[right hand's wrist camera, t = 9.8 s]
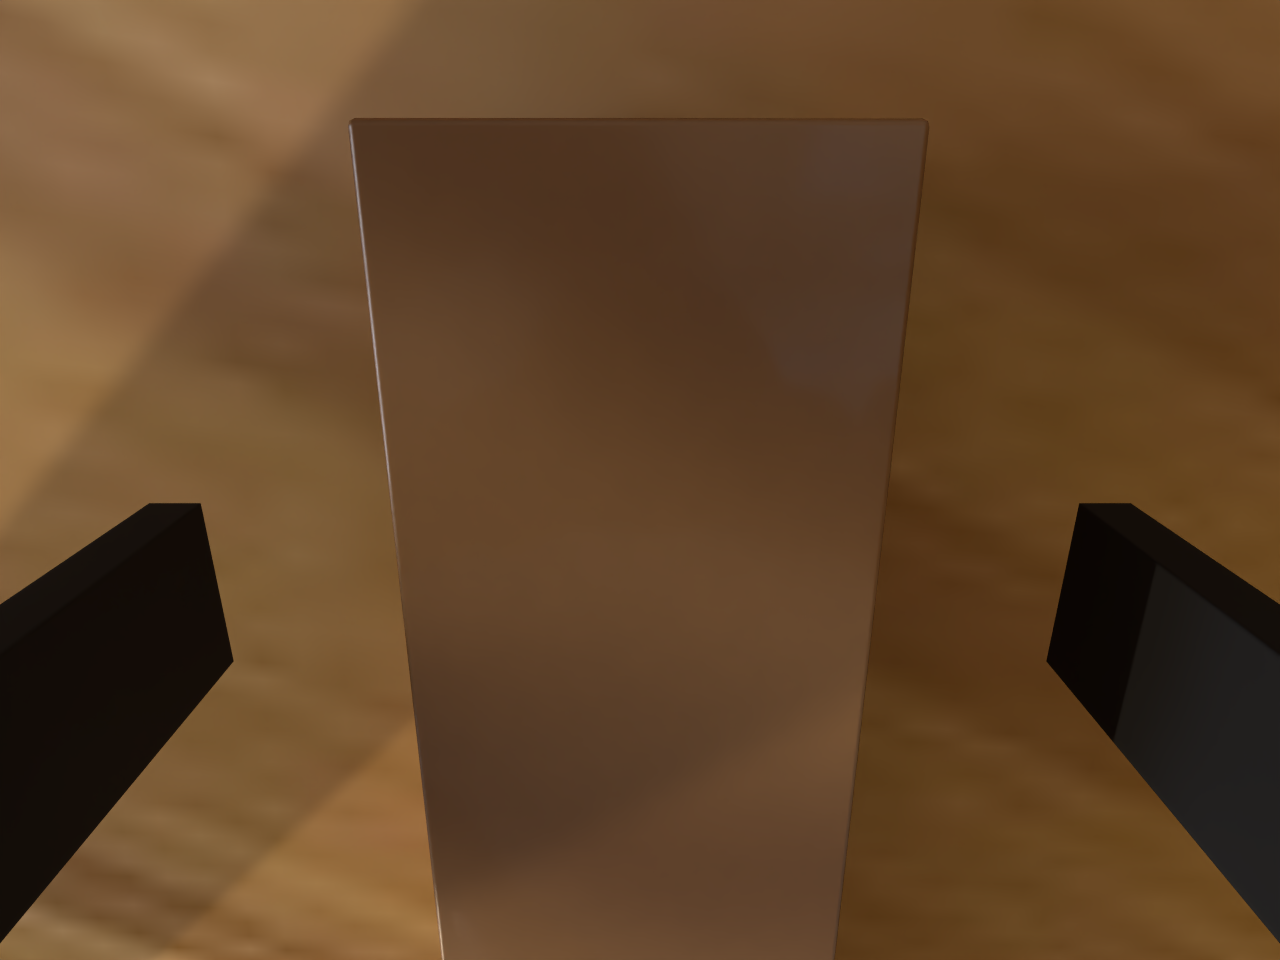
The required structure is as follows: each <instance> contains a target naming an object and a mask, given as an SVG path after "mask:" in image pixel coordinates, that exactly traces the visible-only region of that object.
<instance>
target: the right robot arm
mask: <svg viewBox="0 0 1280 960" xmlns="http://www.w3.org/2000/svg"><path fill="white" fill-rule="evenodd" d="M232 663H233V656H232V651H231V647H230V642H229V637H228V632H227V627H226V623H225V618H224V613H223V608H222V603H221V599H220V594H219V589H218V584H217V579H216V575H215V570H214V565H213V560H212V555H211V551H210V546H209V541H208V536H207V531H206V527H205V522H204V517H203V512H202V507H201V503H149V504H148V505H146V506H145V507H143V508H142V509H140V510H139V511H137V512H136V513H134V514H133V515H131V516H130V517H129V518H127V519H126V520H124V521H123V522H121V523H120V524H118V525H117V526H115V527H114V528H112V529H111V530H109V531H108V532H106V533H105V534H103V535H102V536H101V537H99V538H98V539H96V540H95V541H93V542H92V543H90V544H89V545H87V546H86V547H84V548H83V549H81V550H80V551H78V552H77V553H75V554H74V555H73V556H71V557H70V558H68V559H67V560H65V561H64V562H62V563H61V564H59V565H58V566H56V567H55V568H53V569H52V570H50V571H49V572H47V573H46V574H45V575H43V576H42V577H40V578H39V579H37V580H36V581H34V582H33V583H31V584H30V585H28V586H27V587H25V588H24V589H22V590H21V591H20V592H18V593H17V594H15V595H14V596H12V597H11V598H9V599H8V600H6V601H5V602H3V603H2V604H0V943H1V942H2V940H3V939H4V938H5V937H6V936H7V934H8V933H9V932H10V931H11V929H12V928H13V927H14V926H15V925H16V923H17V922H18V921H19V920H20V919H21V917H22V916H23V915H24V914H25V913H26V911H27V910H28V909H29V908H30V907H31V905H32V904H33V903H34V902H35V900H36V899H37V898H38V897H39V896H40V894H41V893H42V892H43V891H44V890H45V888H46V887H47V886H48V885H49V884H50V882H51V881H52V880H53V879H54V878H55V876H56V875H57V874H58V873H59V871H60V870H61V869H62V868H63V867H64V865H65V864H66V863H67V862H68V861H69V859H70V858H71V857H72V856H73V855H74V853H75V852H76V851H77V850H78V849H79V847H80V846H81V845H82V844H83V843H84V841H85V840H86V839H87V838H88V836H89V835H90V834H91V833H92V832H93V830H94V829H95V828H96V827H97V826H98V824H99V823H100V822H101V821H102V820H103V818H104V817H105V816H106V815H107V814H108V812H109V811H110V810H111V809H112V807H113V806H114V805H115V804H116V803H117V801H118V800H119V799H120V798H121V797H122V795H123V794H124V793H125V792H126V791H127V789H128V788H129V787H130V786H131V785H132V783H133V782H134V781H135V780H136V778H137V777H138V776H139V775H140V774H141V772H142V771H143V770H144V769H145V768H146V766H147V765H148V764H149V763H150V762H151V760H152V759H153V758H154V757H155V756H156V754H157V753H158V752H159V751H160V749H161V748H162V747H163V746H164V745H165V743H166V742H167V741H168V740H169V739H170V737H171V736H172V735H173V734H174V733H175V731H176V730H177V729H178V728H179V727H180V725H181V724H182V723H183V722H184V721H185V719H186V718H187V717H188V716H189V714H190V713H191V712H192V711H193V710H194V708H195V707H196V706H197V705H198V704H199V702H200V701H201V700H202V699H203V698H204V696H205V695H206V694H207V693H208V692H209V690H210V689H211V688H212V687H213V685H214V684H215V683H216V682H217V681H218V679H219V678H220V677H221V676H222V675H223V673H224V672H225V671H226V670H227V669H228V667H229V666H230V665H231V664H232ZM1047 663H1048V664H1049V665H1050V666H1051V667H1052V669H1053V670H1054V671H1055V672H1056V673H1057V675H1058V676H1059V677H1060V678H1061V679H1062V681H1063V682H1064V683H1065V684H1066V685H1067V687H1068V688H1069V689H1070V690H1071V692H1072V693H1073V694H1074V695H1075V696H1076V698H1077V699H1078V700H1079V701H1080V702H1081V704H1082V705H1083V706H1084V707H1085V708H1086V710H1087V711H1088V712H1089V713H1090V714H1091V716H1092V717H1093V718H1094V719H1095V721H1096V722H1097V723H1098V724H1099V725H1100V727H1101V728H1102V729H1103V730H1104V731H1105V733H1106V734H1107V735H1108V736H1109V737H1110V739H1111V740H1112V741H1113V742H1114V743H1115V745H1116V746H1117V747H1118V748H1119V750H1120V751H1121V752H1122V753H1123V754H1124V756H1125V757H1126V758H1127V759H1128V760H1129V762H1130V763H1131V764H1132V765H1133V766H1134V768H1135V769H1136V770H1137V771H1138V772H1139V774H1140V775H1141V776H1142V777H1143V778H1144V780H1145V781H1146V782H1147V783H1148V785H1149V786H1150V787H1151V788H1152V789H1153V791H1154V792H1155V793H1156V794H1157V795H1158V797H1159V798H1160V799H1161V800H1162V801H1163V803H1164V804H1165V805H1166V806H1167V807H1168V809H1169V810H1170V811H1171V812H1172V814H1173V815H1174V816H1175V817H1176V818H1177V820H1178V821H1179V822H1180V823H1181V824H1182V826H1183V827H1184V828H1185V829H1186V830H1187V832H1188V833H1189V834H1190V835H1191V836H1192V838H1193V839H1194V840H1195V841H1196V843H1197V844H1198V845H1199V846H1200V847H1201V849H1202V850H1203V851H1204V852H1205V853H1206V855H1207V856H1208V857H1209V858H1210V859H1211V861H1212V862H1213V863H1214V864H1215V865H1216V867H1217V868H1218V869H1219V870H1220V872H1221V873H1222V874H1223V875H1224V876H1225V878H1226V879H1227V880H1228V881H1229V882H1230V884H1231V885H1232V886H1233V887H1234V888H1235V890H1236V891H1237V892H1238V893H1239V894H1240V896H1241V897H1242V898H1243V899H1244V900H1245V902H1246V903H1247V904H1248V905H1249V907H1250V908H1251V909H1252V910H1253V911H1254V913H1255V914H1256V915H1257V916H1258V917H1259V919H1260V920H1261V921H1262V922H1263V923H1264V925H1265V926H1266V927H1267V928H1268V929H1269V931H1270V932H1271V933H1272V934H1273V936H1274V937H1275V938H1276V939H1277V940H1278V942H1279V943H1280V604H1278V603H1277V602H1275V601H1274V600H1272V599H1271V598H1269V597H1268V596H1266V595H1265V594H1263V593H1262V592H1260V591H1259V590H1258V589H1256V588H1255V587H1253V586H1252V585H1250V584H1249V583H1247V582H1246V581H1244V580H1243V579H1241V578H1240V577H1238V576H1237V575H1235V574H1234V573H1233V572H1231V571H1230V570H1228V569H1227V568H1225V567H1224V566H1222V565H1221V564H1219V563H1218V562H1216V561H1215V560H1213V559H1212V558H1210V557H1209V556H1207V555H1206V554H1205V553H1203V552H1202V551H1200V550H1199V549H1197V548H1196V547H1194V546H1193V545H1191V544H1190V543H1188V542H1187V541H1185V540H1184V539H1182V538H1181V537H1179V536H1178V535H1177V534H1175V533H1174V532H1172V531H1171V530H1169V529H1168V528H1166V527H1165V526H1163V525H1162V524H1160V523H1159V522H1157V521H1156V520H1154V519H1153V518H1151V517H1150V516H1149V515H1147V514H1146V513H1144V512H1143V511H1141V510H1140V509H1138V508H1137V507H1135V506H1134V505H1132V504H1131V503H1079V507H1078V512H1077V517H1076V522H1075V527H1074V531H1073V536H1072V541H1071V546H1070V551H1069V555H1068V560H1067V565H1066V570H1065V575H1064V579H1063V584H1062V589H1061V594H1060V599H1059V603H1058V608H1057V613H1056V618H1055V623H1054V627H1053V632H1052V637H1051V642H1050V647H1049V651H1048V656H1047Z"/></svg>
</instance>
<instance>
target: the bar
mask: <svg viewBox="0 0 1280 960" xmlns="http://www.w3.org/2000/svg"><path fill="white" fill-rule="evenodd" d="M348 129H349V138H350V146H351V155H352V164H353V173H354V182H355V191H356V200H357V209H358V218H359V227H360V235H361V244H362V253H363V262H364V271H365V280H366V289H367V298H368V307H369V315H370V324H371V333H372V342H373V351H374V360H375V369H376V378H377V387H378V396H379V404H380V413H381V422H382V431H383V440H384V449H385V458H386V467H387V476H388V485H389V493H390V502H391V511H392V520H393V529H394V538H395V547H396V556H397V565H398V573H399V582H400V591H401V600H402V609H403V618H404V627H405V636H406V645H407V654H408V662H409V671H410V680H411V689H412V698H413V707H414V716H415V725H416V734H417V743H418V751H419V760H420V769H421V778H422V787H423V796H424V805H425V814H426V823H427V832H428V840H429V849H430V858H431V867H432V876H433V885H434V894H435V903H436V912H437V920H438V929H439V938H440V947H441V956H442V960H835V951H836V942H837V933H838V925H839V916H840V907H841V898H842V889H843V881H844V872H845V863H846V854H847V845H848V837H849V828H850V819H851V810H852V801H853V793H854V784H855V775H856V766H857V758H858V749H859V740H860V731H861V722H862V714H863V705H864V696H865V687H866V678H867V670H868V661H869V652H870V643H871V635H872V626H873V617H874V608H875V599H876V591H877V582H878V573H879V564H880V555H881V547H882V538H883V529H884V520H885V512H886V503H887V494H888V485H889V476H890V468H891V459H892V450H893V441H894V432H895V424H896V415H897V406H898V397H899V388H900V380H901V371H902V362H903V353H904V345H905V336H906V327H907V318H908V309H909V301H910V292H911V283H912V274H913V265H914V257H915V248H916V239H917V230H918V222H919V213H920V204H921V195H922V186H923V178H924V169H925V160H926V151H927V142H928V134H929V124H928V121H926V120H924V119H710V118H354V119H352V120H350V121H349V125H348Z"/></svg>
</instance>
